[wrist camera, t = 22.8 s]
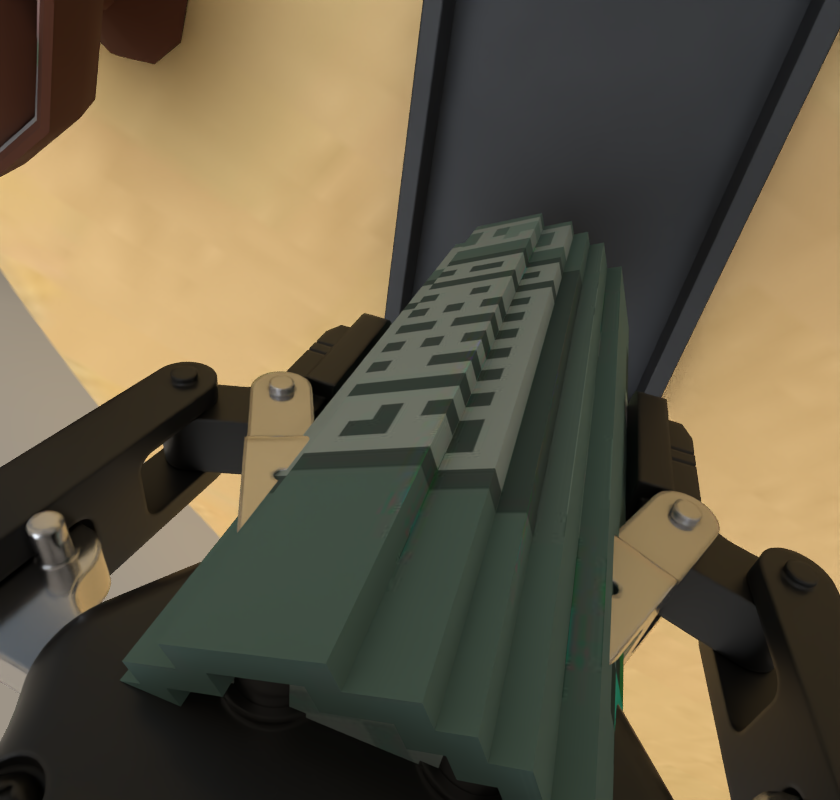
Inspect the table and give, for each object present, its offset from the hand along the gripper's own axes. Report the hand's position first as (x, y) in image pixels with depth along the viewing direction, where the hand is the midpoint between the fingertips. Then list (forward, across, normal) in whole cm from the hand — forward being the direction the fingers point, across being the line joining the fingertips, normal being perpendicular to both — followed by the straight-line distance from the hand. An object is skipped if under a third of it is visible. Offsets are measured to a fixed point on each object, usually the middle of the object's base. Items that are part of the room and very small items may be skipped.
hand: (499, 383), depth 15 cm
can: (+5, 0, 0) cm, 5 cm away
